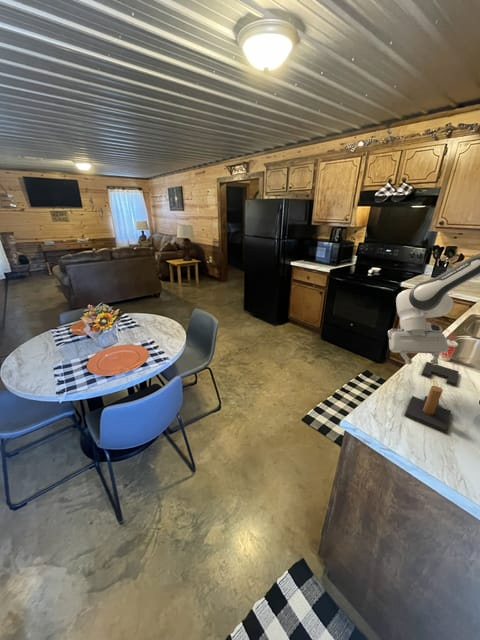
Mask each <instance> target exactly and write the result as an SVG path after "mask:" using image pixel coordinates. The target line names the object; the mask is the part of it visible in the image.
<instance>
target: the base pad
mask: <svg viewBox="0 0 480 640" xmlns="http://www.w3.org/2000/svg"><path fill="white" fill-rule="evenodd" d="M431 375H433V376H436V377H439V378H442V379H445V380H446V382H445V383H446V385H450V386H452V387H456V386H457V381H458V376H459V370H456V369H453V368H449V367H446V366H443V365H440V364H438V365H432V364H431V361H430V362H429V361H426V362H425V365H424V367H423V369H422V371H421V376H423V377H426V378H429V379H430V378H431V377H430V376H431Z"/></svg>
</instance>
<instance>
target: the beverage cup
mask: <svg viewBox="0 0 480 640" xmlns="http://www.w3.org/2000/svg"><path fill="white" fill-rule="evenodd" d="M454 336H455V332H452V334H451V336H450V337H451V338H450V339H446V340H447V343H448V347H449V349H448V351H447V352H445V353H442V354H440V355H439V358H438V359H440V360H442V361H446V362H451V359H452V357H453V356H454V353H455V351H456V350H457V347H458V346H459V343H458V342H456V341H455V340H453V338H454Z"/></svg>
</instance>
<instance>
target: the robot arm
mask: <svg viewBox="0 0 480 640" xmlns="http://www.w3.org/2000/svg"><path fill="white" fill-rule="evenodd" d="M476 278H480V253H477V254H475V255H473V256H471V257H469V258H467V259H465V260H463V261H461V262H460V263H458V264H457V265H455V266H453V267H451V268H449V269H447V270H446V271H444V272H443V273H441V274H439V275H438V276H436V277H433V278H431V279H428V280H425V281H424V280H423V281H421V282H419V283H417V284H416V285H414V286H413V288H407V289H405V290H402V291H400V292H399V293H398V294H397V296H396V297H395V303H396V304H395V305H396V313H397V316H398V317H399V327H400V328H390V329H389V330H388V331H387V337H388V347H389V351H390V352H391V353H399V354H400V357H402V359H403V360H404V362H405V365H411V364H413V361H412V358H410V357H409V356H408V354H431V356H432V357H433V358H432V359H430V363H431V364H432V365H439V359H440V358H439V355H440V354H442V353H445V352H447V351H448V349H449V347H448V343H447V340H448V339H447V338H446V335H445V334H444V333H443V327H442V326H441V325H437V324H434V323H431V322H429V321H427V319H433V318H441V317H445V316H447V315H449V314H450V313H451V312H452V311H453V309H454V307H455V303H454V299H453V297H451V296H450V295H449V294H448V293H450V292H451V291H453V290H455V289H456V288H458V287H460V286H462V285H464V284H466V283H468V282H469V281H471V280H473V279H476Z"/></svg>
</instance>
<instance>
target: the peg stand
mask: <svg viewBox="0 0 480 640" xmlns="http://www.w3.org/2000/svg"><path fill="white" fill-rule="evenodd" d="M443 391H444V390H443V389H442V388H441V387H439V386H437V385H431V386H430V388H429V392H428V395H425V396H424V399H422V398H419V397H417V396H414V395H411V398H410V400H409V403H408V405H407V408H406V410H405V413H404V417H407V418H409V419H412V420H413V421H416V422H418V423H420V424H423V425H425V426H428V427H429V428H432V429H434V430H437V431H438V432H440V433H444V434H446V433H447V431H448V428H449V424H450V423H449V422H450V418H451V414H452V413H451V412H452V411H451V410H450V409H449V408H445V407H443V406H440V405H439V404H440V399H441V396H442V393H443Z"/></svg>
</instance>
